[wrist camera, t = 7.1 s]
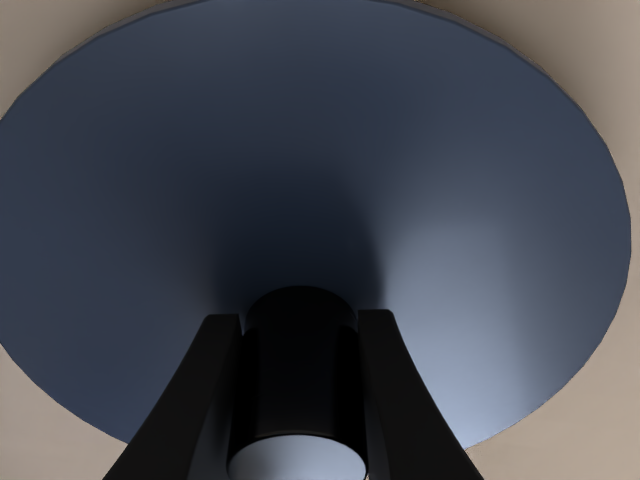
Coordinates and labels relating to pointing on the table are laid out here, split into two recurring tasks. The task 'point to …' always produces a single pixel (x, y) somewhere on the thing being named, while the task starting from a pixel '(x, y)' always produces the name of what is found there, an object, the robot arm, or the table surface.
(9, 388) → the table surface
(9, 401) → the table surface
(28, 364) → the pot lid
